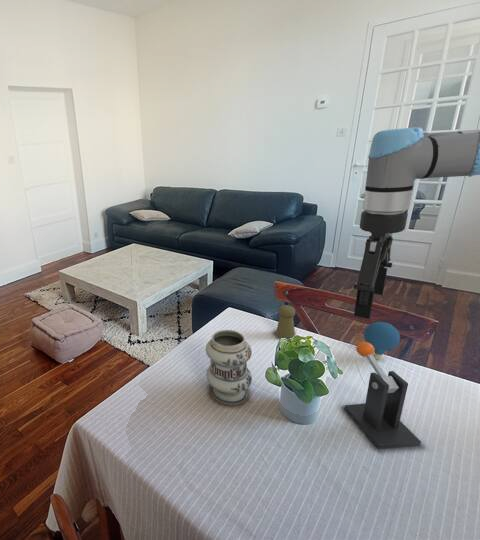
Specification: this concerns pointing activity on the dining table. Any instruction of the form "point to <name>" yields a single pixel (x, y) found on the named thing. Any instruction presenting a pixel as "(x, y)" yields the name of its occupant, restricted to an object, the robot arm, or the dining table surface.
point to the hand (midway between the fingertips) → (369, 304)
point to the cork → (286, 322)
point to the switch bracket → (383, 414)
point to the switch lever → (376, 364)
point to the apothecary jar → (228, 366)
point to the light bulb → (381, 337)
